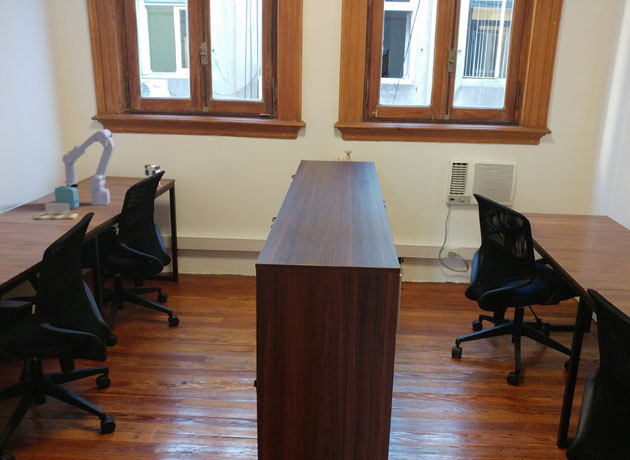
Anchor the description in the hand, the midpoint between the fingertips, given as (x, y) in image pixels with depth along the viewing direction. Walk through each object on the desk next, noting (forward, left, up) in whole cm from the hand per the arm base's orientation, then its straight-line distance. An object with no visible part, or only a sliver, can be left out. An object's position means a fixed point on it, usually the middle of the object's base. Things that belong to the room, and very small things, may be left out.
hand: (73, 196), depth 330 cm
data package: (0, +12, -4) cm, 13 cm away
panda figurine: (-40, -43, -4) cm, 59 cm away
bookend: (0, +33, -4) cm, 33 cm away
